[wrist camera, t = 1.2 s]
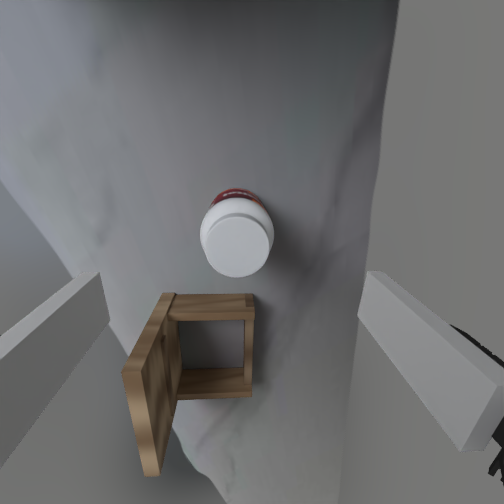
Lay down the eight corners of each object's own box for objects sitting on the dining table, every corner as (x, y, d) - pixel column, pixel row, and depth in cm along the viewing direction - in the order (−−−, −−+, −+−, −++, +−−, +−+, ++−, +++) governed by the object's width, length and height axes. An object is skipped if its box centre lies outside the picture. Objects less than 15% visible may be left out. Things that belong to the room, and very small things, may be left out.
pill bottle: (273, 200, 27) (296, 226, 17) (251, 248, 29) (260, 298, 19) (220, 177, 26) (211, 191, 16) (201, 229, 28) (182, 271, 18)
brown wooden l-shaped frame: (162, 293, 30) (121, 371, 19) (252, 291, 31) (262, 366, 20) (172, 376, 36) (144, 476, 24) (249, 373, 36) (257, 469, 25)
